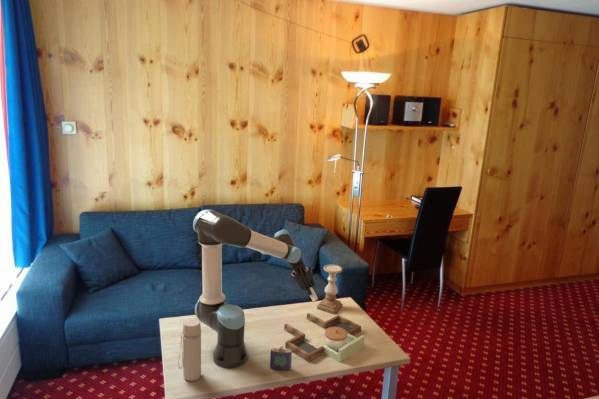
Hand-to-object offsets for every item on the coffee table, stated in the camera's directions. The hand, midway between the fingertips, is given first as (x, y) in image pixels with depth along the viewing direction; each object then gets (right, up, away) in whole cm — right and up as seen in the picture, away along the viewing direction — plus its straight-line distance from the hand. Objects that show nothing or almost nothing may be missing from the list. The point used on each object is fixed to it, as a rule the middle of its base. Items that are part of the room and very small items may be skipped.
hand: (315, 300), depth 219 cm
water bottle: (-53, -24, -34) cm, 68 cm away
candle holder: (+9, -11, +31) cm, 34 cm away
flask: (-16, -24, -25) cm, 38 cm away
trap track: (+4, -19, 0) cm, 19 cm away
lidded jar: (+9, -21, -7) cm, 24 cm away
